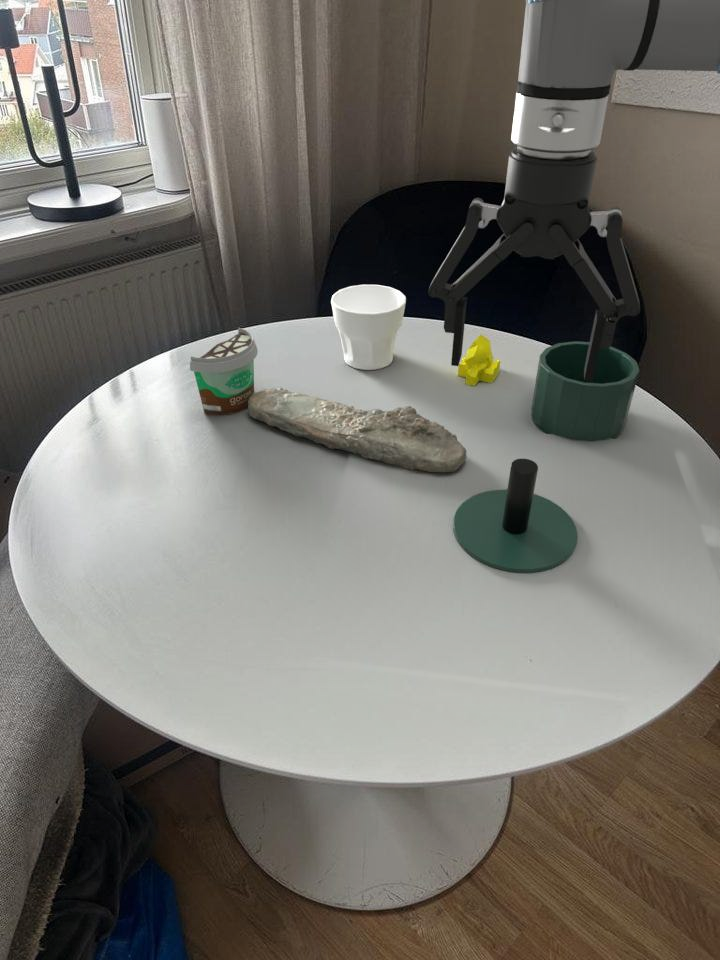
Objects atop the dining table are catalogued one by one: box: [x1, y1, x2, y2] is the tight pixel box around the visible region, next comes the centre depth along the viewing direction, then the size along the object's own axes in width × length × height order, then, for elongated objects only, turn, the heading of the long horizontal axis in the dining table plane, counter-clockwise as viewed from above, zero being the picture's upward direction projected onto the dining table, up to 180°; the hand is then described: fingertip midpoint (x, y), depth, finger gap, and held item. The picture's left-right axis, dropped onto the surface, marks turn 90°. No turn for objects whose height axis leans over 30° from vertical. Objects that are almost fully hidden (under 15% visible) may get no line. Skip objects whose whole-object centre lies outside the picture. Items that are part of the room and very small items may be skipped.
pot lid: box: [452, 458, 578, 574], centre depth 83 cm, size 15×15×10 cm
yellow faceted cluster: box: [457, 334, 501, 387], centre depth 116 cm, size 6×8×8 cm
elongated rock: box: [247, 387, 467, 473], centre depth 102 cm, size 35×5×10 cm
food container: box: [189, 327, 259, 416], centre depth 108 cm, size 12×6×10 cm, turn 150°
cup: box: [330, 284, 407, 371], centre depth 119 cm, size 12×12×11 cm
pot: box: [530, 341, 640, 442], centre depth 104 cm, size 14×14×10 cm
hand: (520, 367), depth 74 cm, fingers open, 13 cm apart
